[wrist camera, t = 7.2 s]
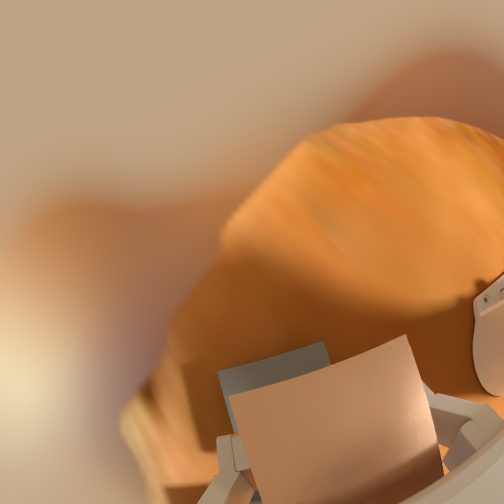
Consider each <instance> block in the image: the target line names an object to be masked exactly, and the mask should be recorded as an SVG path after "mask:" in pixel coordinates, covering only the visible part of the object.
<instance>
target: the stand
mask: <svg viewBox="0 0 504 504" xmlns="http://www.w3.org/2000/svg"><path fill="white" fill-rule="evenodd" d="M330 365H332V364H331V361H330V358H329V355H328V353H327V350H326V347H325V344H324V341H320V342H317V343H314V344H311V345H308V346H305V347H302V348H299V349H296V350H292V351H289V352H286V353H283V354H279V355H276V356H272V357H269V358H265V359H262V360H258V361H255V362H251V363H247V364H243V365H239V366H235V367H231V368H227V369H223V370H219V371H217V374H218V378H219V381H220V385H221V389H222V392H223V396H224V400H225V403H226V407H227V410H228V414H229V417H230V420H231V424H232V427H233V430H234V433H239V431H238V428H237V424H236V421H235V418H234V414H233V411H232V408H231V404H230V401H229V397H228V396H230V395H234V394H238V393H242V392H246V391H250V390H254V389H257V388H261V387H265V386H268V385H272V384H275V383H279V382H282V381H285V380H289V379H292V378H295V377H298V376H301V375H304V374H307V373H310V372H313V371H316V370H319V369H322V368H325V367H327V366H330Z"/></svg>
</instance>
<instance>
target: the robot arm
mask: <svg viewBox="0 0 504 504" xmlns="http://www.w3.org/2000/svg"><path fill="white" fill-rule="evenodd" d="M473 309H474V316H475V329H474V336H473V359H474V366H475V370H476V373H477V376H478V379H479V381H480V383H481V384H482V386H483V387H484V389H485V390H486V391H487V392H488V393H490V394H492V395H494V396H504V274H503V275H502V276H501V277H500V278H499V279H497V280H496V281H495V282H494V283H493V284H492V285H490V286H489V287H488V288H487V289H486V290H484V291H483V292H482V293H481V294H479V295H478V296H477V297H476V298H475V299H474V301H473ZM422 384H423V387H424V390H425V394H426V397H427V401H428V404H429V408H430V412H431V416H432V420H433V424H434V428H435V432H436V436H437V441H438V444H441V445H443V446H446V447H448V448H449V449H448V451H447V453H446V454H445V456H444V458H443V463H444V464H445V466H446V467H447V468H448V470H449V471H450V472H449V473H448V474H446V475H445V476H443V477H442V478H440V479H439V480H437V481H436V482H434V483H433V484H431V485H429V486H428V487H426V488H425V489H423V490H421V491H420V492H418V493H416V494H415V495H413V496H411V497H409V498H407V499H406V500H404V501H402V502H400V503H398V504H504V421H503V419H502V418H501V417H500V416H499V415H498V414H497V413H496V412H495V411H494V410H493V409H492V408H491V407H490V406H489V405H488V404H483V403H478V402H474V401H469V400H465V399H461V398H456V397H452V396H448V395H444V394H440V393H437V394H434V393H433V392H432V391H431V390H430V389H429V387H428V386H427V385H426V384H425V383H424V382H423V381H422ZM216 444H217V455H218V466H219V475H215V477H214V478H213V480H212V481H211V483H210V485H209V486H208V488H207V489H206V491H205V492H204V494H203V495H202V497H201V498H200V500H199V501H198V503H197V504H249V503H250V501H251V498H252V496H253V494H254V492H255V491H254V490H257V486H256V483H255V480H254V477H253V474H252V471H251V468H250V465H249V462H248V459H247V456H246V453H245V450H244V447H243V444H242V441H241V437H240V434H239V433H234V434H228V435H223V436H218V437H217V439H216Z"/></svg>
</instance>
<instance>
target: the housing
mask: <svg viewBox="0 0 504 504" xmlns="http://www.w3.org/2000/svg"><path fill="white" fill-rule="evenodd" d="M228 397H229V401H230V404H231V408H232V411H233V414H234V418H235V421H236V424H237V428H238V431H239V434H240V437H241V441H242V444H243V447H244V450H245V453H246V456H247V459H248V462H249V465H250V468H251V471H252V474H253V477H254V480H255V483H256V486H257V489H258V491H259V494H260V497H261V500H262V502H263V504H398V503H400V502H402V501H404V500H406V499H407V498H409V497H411V496H413V495H415V494H416V493H418V492H420V491H421V490H423V489H425V488H426V487H428V486H429V485H431V484H433V483H434V482H436V481H437V480H439V479H440V478H442V477H443V476H444V472H443V466H442V461H441V455H440V450H439V446H438V441H437V436H436V432H435V428H434V424H433V420H432V416H431V412H430V408H429V404H428V401H427V397H426V394H425V390H424V387H423V384H422V380H421V377H420V374H419V371H418V368H417V365H416V362H415V359H414V356H413V353H412V350H411V347H410V344H409V342H408V339H407V336H406V334H404V335H402V336H400V337H397V338H395V339H393V340H391V341H389V342H387V343H384V344H382V345H380V346H378V347H375V348H373V349H371V350H368V351H366V352H364V353H361V354H359V355H356V356H354V357H351V358H349V359H346V360H344V361H341V362H338V363H335V364H333V365H330V366H327V367H325V368H322V369H319V370H316V371H313V372H310V373H307V374H304V375H301V376H298V377H295V378H292V379H289V380H285V381H282V382H279V383H275V384H272V385H268V386H265V387H261V388H257V389H254V390H250V391H246V392H242V393H238V394H234V395H230V396H228Z"/></svg>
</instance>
